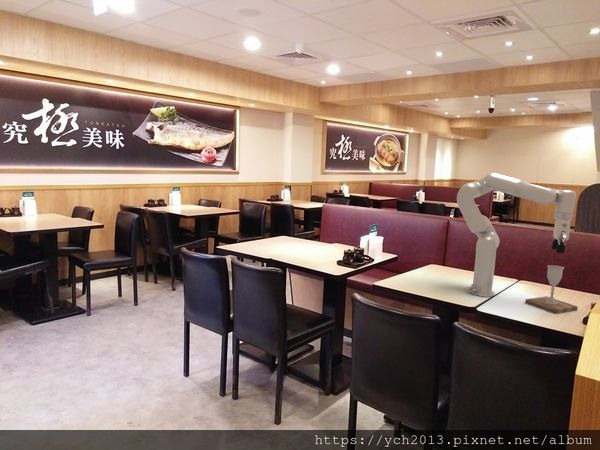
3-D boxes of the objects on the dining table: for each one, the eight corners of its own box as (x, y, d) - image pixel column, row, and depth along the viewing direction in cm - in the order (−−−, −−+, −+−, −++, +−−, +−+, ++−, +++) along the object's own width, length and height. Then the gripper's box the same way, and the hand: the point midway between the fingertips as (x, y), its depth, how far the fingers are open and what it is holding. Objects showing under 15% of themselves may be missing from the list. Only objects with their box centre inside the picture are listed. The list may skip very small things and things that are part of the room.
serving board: (555, 314, 199) (556, 309, 199) (525, 303, 213) (525, 299, 213) (577, 310, 206) (577, 306, 206) (546, 300, 220) (546, 296, 220)
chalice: (556, 301, 212) (561, 265, 209) (562, 305, 205) (566, 269, 203) (540, 299, 213) (544, 264, 211) (545, 304, 207) (549, 268, 204)
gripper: (577, 218, 194) (571, 255, 196) (567, 214, 210) (562, 248, 212) (558, 217, 196) (552, 253, 199) (550, 213, 212) (545, 247, 215)
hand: (557, 251), depth 206 cm, fingers open, 9 cm apart
